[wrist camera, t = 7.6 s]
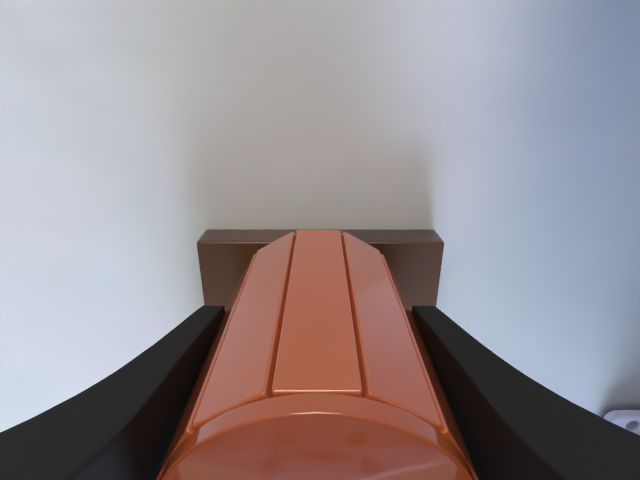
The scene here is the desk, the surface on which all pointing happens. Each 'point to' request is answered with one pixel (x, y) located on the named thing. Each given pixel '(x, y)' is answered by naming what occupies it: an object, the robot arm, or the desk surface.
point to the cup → (317, 376)
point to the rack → (396, 245)
